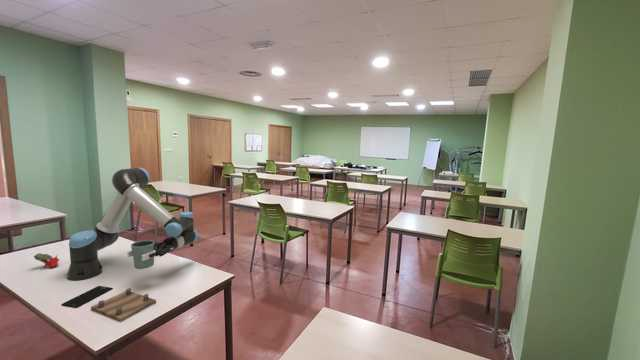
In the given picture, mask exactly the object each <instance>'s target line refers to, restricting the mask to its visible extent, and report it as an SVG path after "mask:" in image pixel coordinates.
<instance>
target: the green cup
mask: <svg viewBox="0 0 640 360" xmlns="http://www.w3.org/2000/svg"><path fill="white" fill-rule="evenodd" d="M154 242H155V240H152V239H150V240H149V239H144V240H139V241H135V242H133V243H132V244H130V245H131V246H130V249H131V251H132V253H133V256H132V259H133V266H134V269H136V270H144V269H148V268H149V269H150V268H151V267H152V266H154V264H155V257H152V258H150V259H147V260H144V261H142V255H144V254H147V253H150V252H153V251H155V250H154Z"/></svg>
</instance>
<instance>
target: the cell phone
mask: <svg viewBox="0 0 640 360" xmlns="http://www.w3.org/2000/svg"><path fill="white" fill-rule="evenodd" d="M113 289H114V288H113V287H109V286H105V285H98V286H95V287H93V288H91V289H89V290H87V291H85V292H83V293H81V294H78V295H77V296H75V297H74V298H71V299H69V300H66V301H65V302H63V303H61V304H60V305H61V307H65V308H66V307H67V308H72V309H78V308H80V307H82V306H84V305H85V304H88V303H90V302H92V301H94V300H96V299H97V298H99V297H101V296H103V295H105V294H106V293H108V292H111V291H112V290H113Z"/></svg>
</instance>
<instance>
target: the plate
mask: <svg viewBox="0 0 640 360" xmlns="http://www.w3.org/2000/svg"><path fill="white" fill-rule="evenodd" d="M156 303H157V299H154V298H151V297H149V293H145V294H143V295H142V294H140V293H136V292H133V291H132V288H130V287H129V288H126V289H125V291H123V292H121V293H118V294H116V295H114V296H112V297H110V298H108V299H105V300H104V299H103V300H99V301H98V303H96V304H94V305H92V306H90V310H91V311H93V312H95V313H98V314H100V315H103V316H105V317H107V318H109V319H112V320H115V321H117V322H120V323H121V322H123V321H125V320H128V319H130V318H131V317H133V316H134V315H136V314H138V313H140V312H142V311H145V310H146V309H148V308H149V307H151V306H154V305H155V304H156Z"/></svg>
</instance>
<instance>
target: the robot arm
mask: <svg viewBox="0 0 640 360" xmlns="http://www.w3.org/2000/svg"><path fill="white" fill-rule="evenodd" d="M150 181H151V176H150V174H149V172H148V171H147V170H146V169H145V168H142V167H132V168H123V169H119V170H117V171H116V172H114V174H113V175H112V178H111V182H112V183H111V184H112V186H113V188H114V189H115V190H116V191H117V193H116V194H115V197H114V198H113V200H112V202H111V203H110V205H109V207H108V209H107V210H106V213H105V215H104V217H103V218H102V220H101V221H100V222H98V223H96V225H95V227H94V229H92V230H82V231H78V232H76V233H73V234H72V235H71V236H70V237H69V240H68V246H69V258H70V259H69V260H70V265H69V267H68V270H67V273H66V277H67V280H69V281H82V280H83V281H84V280H89V279H91V278H95V277H97V276H99V275H101V274H102V272H103V266H102V263H101V261H100V259H99V256H98V252H99V251H101V250H102V249H104V248H107V247H110V246H111V245H113V244H114V243H116V242H117V241H118V240H119V237H120V228H119V225H120V223H121V222H122V220H123V218H124V216H125V214H126V212H127V211H128V209H129V207H130V205H131V203H132V202H133V203H134V204H135V205H137V206H138V207H139V208H141V210H143V211H144V212H145V213H146V214H148V215H149V216H150V218H152V219H154V220H155V221H156V222H157V223H158V224H159V225H161V227H163V228H165V229H164V232H165V234H166V235H167V236H168V237H166V238H164V239H163V241H161V242H158V241H154V251H153V252H150V253H147V254H144V255H142V261H144V260H147V259H150V258H152V257H154V258H155V257H163V256H165V255H166V254H169V253H170V252H172V251H174V250H176V249H177V250H179V248H181V247H184V246H187V245H191V244H193V243H195V242H196V241H197V240H198V238H199V234H198V232H197V231H196V230H195V229H194V228H195V227H194V224H195V221H194V219H195V217H194V213H193V212H192V211H183V212H180V213H179V217H178V218H177V217H175V216H174V215H173V214H172V213H171V212H169V211H168V210H167V209H166V208H165V207H163V206H162V205H161V204H160V203H159V202H158V201H156V199H154V198H153V197H152V196H150V195H149V193H148V192H146V191H145V190H144V189H143V188H144V187H146V186H147V185H149V183H150ZM132 257H133V253H132V250H129V251H127V258H132Z"/></svg>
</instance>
